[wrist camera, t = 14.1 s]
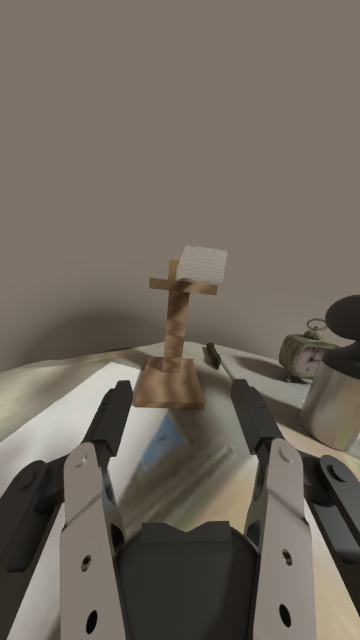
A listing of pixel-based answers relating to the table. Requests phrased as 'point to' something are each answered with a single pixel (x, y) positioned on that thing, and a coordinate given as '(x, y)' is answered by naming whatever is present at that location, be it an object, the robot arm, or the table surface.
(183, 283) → the stand
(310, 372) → the tabletop clock
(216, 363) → the hand tool
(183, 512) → the table surface
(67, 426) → the table surface
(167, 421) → the table surface
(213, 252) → the bar
